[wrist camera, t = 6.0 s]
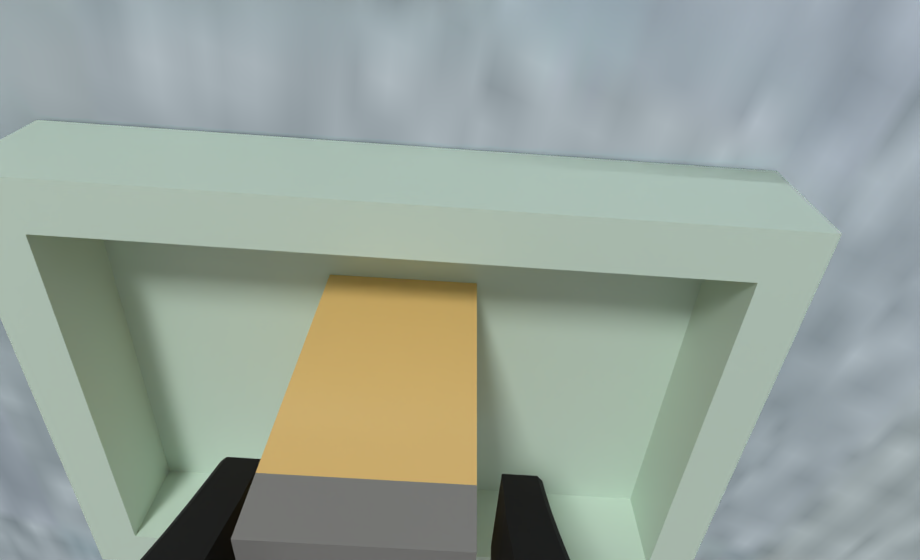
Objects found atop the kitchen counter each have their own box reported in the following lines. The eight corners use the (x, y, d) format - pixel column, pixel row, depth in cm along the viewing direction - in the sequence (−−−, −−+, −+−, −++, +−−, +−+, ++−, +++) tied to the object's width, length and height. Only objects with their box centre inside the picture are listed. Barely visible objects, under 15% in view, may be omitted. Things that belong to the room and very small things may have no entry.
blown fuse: (476, 282, 13) (477, 552, 8) (465, 422, 15) (459, 703, 10) (329, 274, 12) (231, 539, 7) (339, 415, 15) (267, 693, 10)
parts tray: (776, 171, 12) (842, 233, 10) (653, 505, 17) (678, 592, 15) (36, 119, 12) (-61, 172, 9) (149, 475, 17) (102, 559, 15)
